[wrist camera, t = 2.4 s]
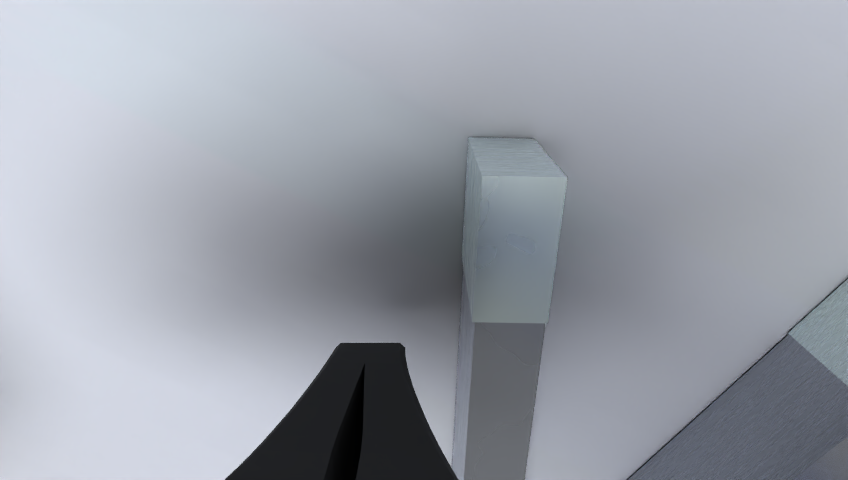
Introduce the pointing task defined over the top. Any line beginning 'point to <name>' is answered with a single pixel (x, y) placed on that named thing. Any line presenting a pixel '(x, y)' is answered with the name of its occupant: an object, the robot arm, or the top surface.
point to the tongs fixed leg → (774, 413)
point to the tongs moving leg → (504, 301)
